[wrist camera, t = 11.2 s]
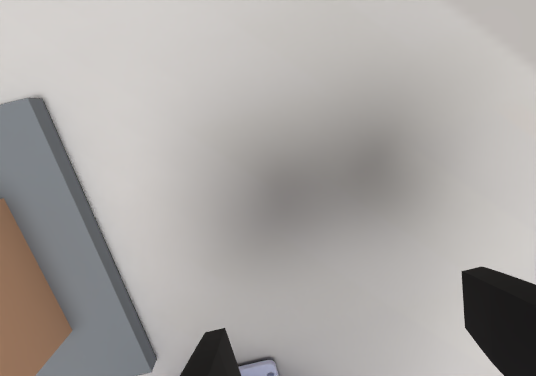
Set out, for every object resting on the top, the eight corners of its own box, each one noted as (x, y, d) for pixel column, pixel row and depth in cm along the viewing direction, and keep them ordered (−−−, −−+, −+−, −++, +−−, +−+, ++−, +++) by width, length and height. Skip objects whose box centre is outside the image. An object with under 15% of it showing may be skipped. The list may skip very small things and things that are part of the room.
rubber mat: (156, 359, 20) (151, 372, 19) (-7, 398, 20) (-20, 412, 19) (42, 98, 15) (27, 97, 14) (-171, 152, 15) (-200, 155, 14)
